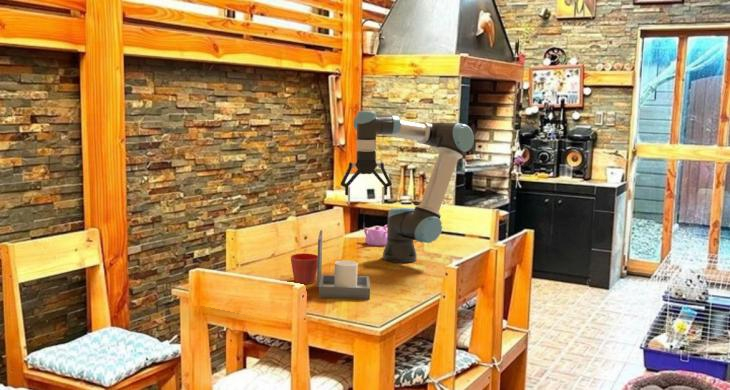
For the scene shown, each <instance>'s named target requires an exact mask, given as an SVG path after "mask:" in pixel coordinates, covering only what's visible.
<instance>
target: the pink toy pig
mask: <svg viewBox="0 0 730 390" xmlns="http://www.w3.org/2000/svg"><path fill="white" fill-rule="evenodd" d="M387 228H388V224H385V225H384V226H383V228H381V226H379V225H376V226H375V227H374V228H373V227H372V228H368V227H364V229H363V231H364V235H365V243H366V244H367V245H368V246H373V247H385V246H386V243H387V231H388V230H387Z"/></svg>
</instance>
